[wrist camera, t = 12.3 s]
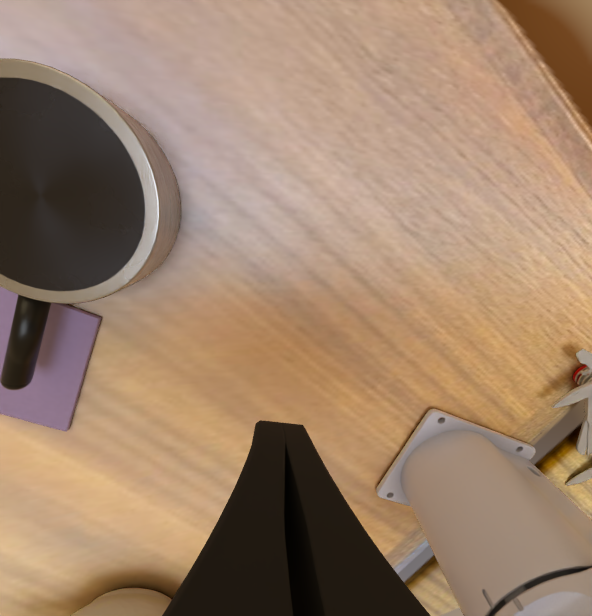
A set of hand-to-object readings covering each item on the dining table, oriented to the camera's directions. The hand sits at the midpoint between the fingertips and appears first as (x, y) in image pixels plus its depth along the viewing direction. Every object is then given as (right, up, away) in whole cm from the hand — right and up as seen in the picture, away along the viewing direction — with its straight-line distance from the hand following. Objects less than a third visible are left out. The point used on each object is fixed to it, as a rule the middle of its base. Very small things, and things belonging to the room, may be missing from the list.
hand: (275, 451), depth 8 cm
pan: (-11, +7, +7) cm, 15 cm away
